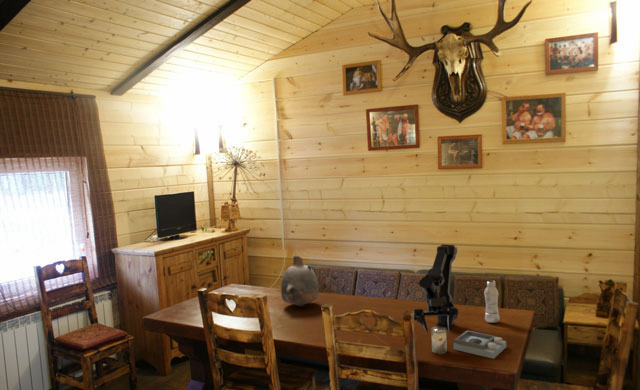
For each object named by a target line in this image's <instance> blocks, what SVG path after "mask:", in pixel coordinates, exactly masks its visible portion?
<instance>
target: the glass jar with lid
mask: <svg viewBox="0 0 640 390" xmlns="http://www.w3.org/2000/svg"><path fill="white" fill-rule="evenodd" d="M430 330H431V352H432V353H433V352H434V353H433V354H435V353H437V355H444V353H445V354H447V353H448V350H447V349H448V346H447V345H448V344H447V343H448V341H447V327H443V326H438V325H435V326H432V327H431V328H430ZM446 352H447V353H446Z"/></svg>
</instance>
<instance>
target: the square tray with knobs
mask: <svg viewBox="0 0 640 390" xmlns="http://www.w3.org/2000/svg"><path fill="white" fill-rule="evenodd" d="M506 348H507V341H506V340H503V338H502V337H500V336H496V335H491V334H487V333H482V332H476V331H472V330H465V331H464V332H462V334H460V335H459V336H457V337H455V338H454V343H453V350H456V351H458V352H459V351H460V352H463V353H468V354H471V355H477V356H480V357H481V356H482V357H484V358H489V359H495V358H497V357H498V356H499V354H500V353H502V352H503V351H504V350H506Z"/></svg>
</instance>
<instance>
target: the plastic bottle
mask: <svg viewBox="0 0 640 390" xmlns="http://www.w3.org/2000/svg"><path fill="white" fill-rule="evenodd" d="M496 285H497V284H496V281H495V280H487V281H486V287H485V289H484V291H483V294H484V299H485V312H484V313H485V314H484V320H485V321H486V322H487V323H490V324H495V323H498V322H499V321H500V313H499V307H498V305H499V303H498V302H499V301H498V300H499V290H498V289H497V287H496Z"/></svg>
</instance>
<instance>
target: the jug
mask: <svg viewBox="0 0 640 390" xmlns="http://www.w3.org/2000/svg"><path fill="white" fill-rule="evenodd" d="M292 260H293V262H292V265H291V266H288V268H287V269H286V270H285V272H284V273H283V276H282V278H281V282H280V283H281V284H280V294H281V299H282V301H283V302H284V303H287V304H291V305H295V306H298V307H299V306H300V307H303V306H305V305H306V304H310V303H312V302H314V301H316V300H318V299H319V294H320V292H319V291H320V290H319V289H320V288H319V287H320V286H319V282H318V278H317V275H316V273H315V270H314V269H312V266H311V264H308V265H306V264H304V262H303V258H302V257H301V256H298V255H296V253H293V259H292Z"/></svg>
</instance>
